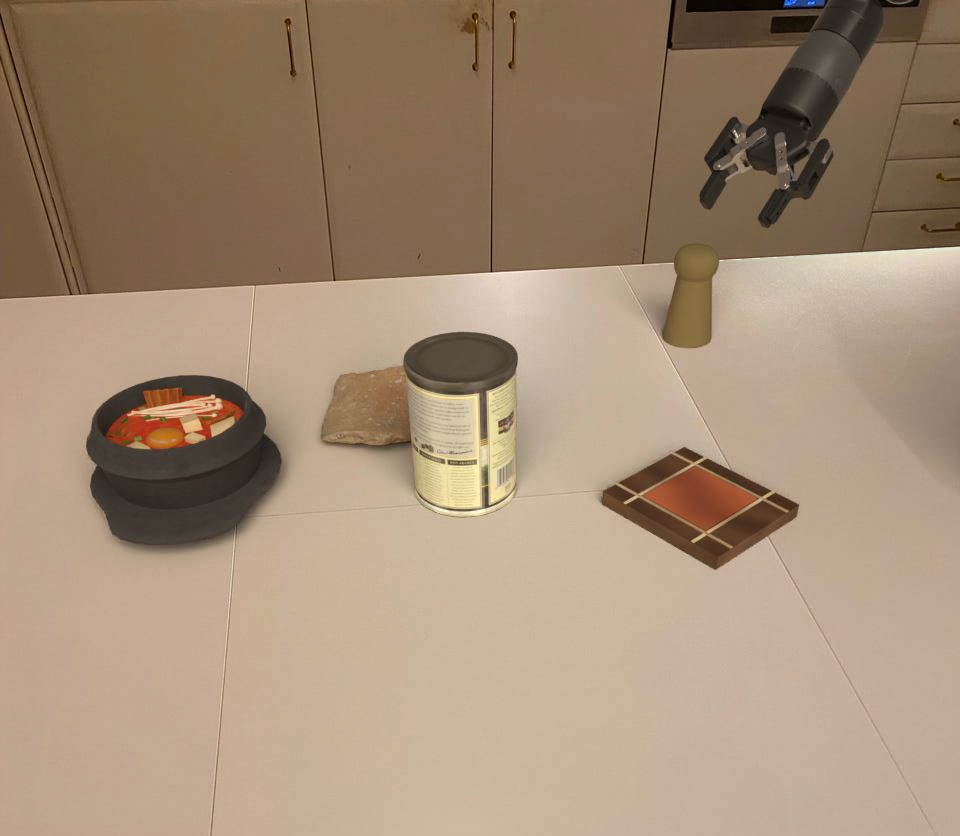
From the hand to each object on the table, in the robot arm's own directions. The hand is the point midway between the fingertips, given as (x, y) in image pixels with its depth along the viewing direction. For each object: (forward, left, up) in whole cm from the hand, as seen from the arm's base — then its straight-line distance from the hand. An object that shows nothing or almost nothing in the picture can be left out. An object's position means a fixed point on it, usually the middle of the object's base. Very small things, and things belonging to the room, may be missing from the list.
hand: (732, 214), depth 115 cm
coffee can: (+48, +7, -14) cm, 50 cm away
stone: (+46, -10, -14) cm, 49 cm away
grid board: (+34, +25, -13) cm, 44 cm away
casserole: (+68, -12, -14) cm, 70 cm away
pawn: (+6, 0, -14) cm, 15 cm away
